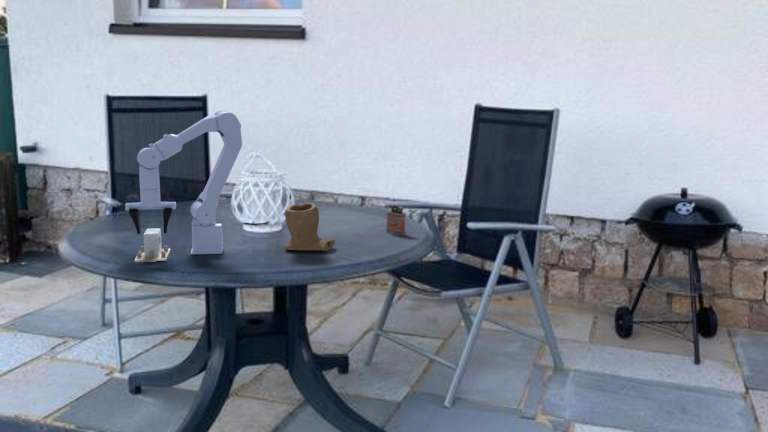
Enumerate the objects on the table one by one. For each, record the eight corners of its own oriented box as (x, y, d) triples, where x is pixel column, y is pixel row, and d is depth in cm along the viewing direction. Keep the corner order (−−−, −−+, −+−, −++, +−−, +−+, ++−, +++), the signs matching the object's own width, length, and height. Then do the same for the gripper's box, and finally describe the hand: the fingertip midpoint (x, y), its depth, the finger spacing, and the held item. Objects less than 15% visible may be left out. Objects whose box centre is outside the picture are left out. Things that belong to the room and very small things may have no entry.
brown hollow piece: (279, 254, 244) (278, 206, 242) (289, 245, 256) (289, 199, 253) (327, 256, 242) (327, 208, 239) (335, 247, 254) (335, 201, 251)
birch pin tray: (170, 250, 247) (170, 243, 247) (165, 261, 234) (165, 254, 233) (140, 251, 246) (140, 244, 245) (134, 262, 232) (133, 255, 232)
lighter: (407, 234, 274) (408, 206, 272) (401, 235, 272) (401, 207, 270) (390, 230, 280) (390, 203, 278) (384, 232, 277) (384, 204, 275)
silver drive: (161, 250, 244) (160, 228, 243) (158, 256, 236) (157, 234, 235) (148, 250, 244) (147, 228, 242) (144, 257, 236) (143, 234, 234)
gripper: (176, 185, 241) (178, 229, 243) (126, 186, 238) (129, 230, 241) (174, 189, 234) (176, 234, 236) (123, 190, 231) (125, 235, 234)
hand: (152, 233), depth 238 cm, fingers open, 7 cm apart
